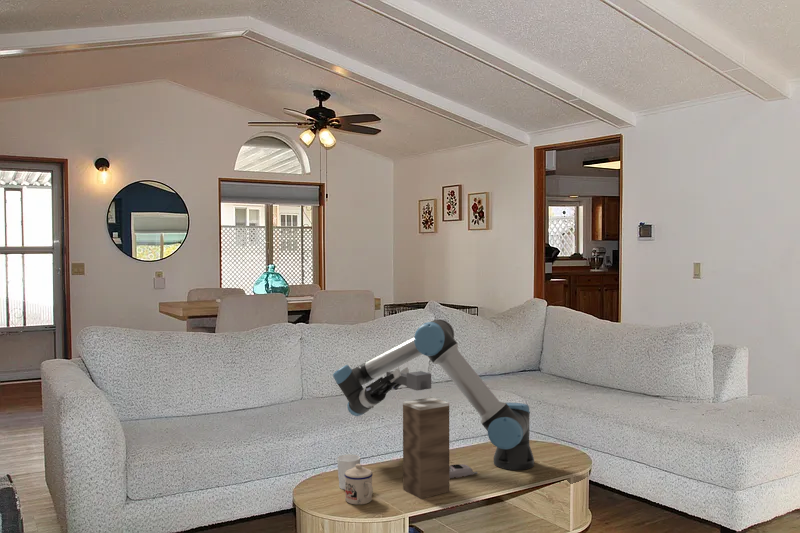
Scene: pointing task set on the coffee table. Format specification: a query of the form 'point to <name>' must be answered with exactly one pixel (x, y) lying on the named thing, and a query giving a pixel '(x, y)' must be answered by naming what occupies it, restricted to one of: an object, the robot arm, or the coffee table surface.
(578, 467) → the coffee table surface
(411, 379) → the gray block
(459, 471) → the mobile phone
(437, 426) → the brown wooden tall block
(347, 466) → the white cup
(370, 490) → the teacup with lid
